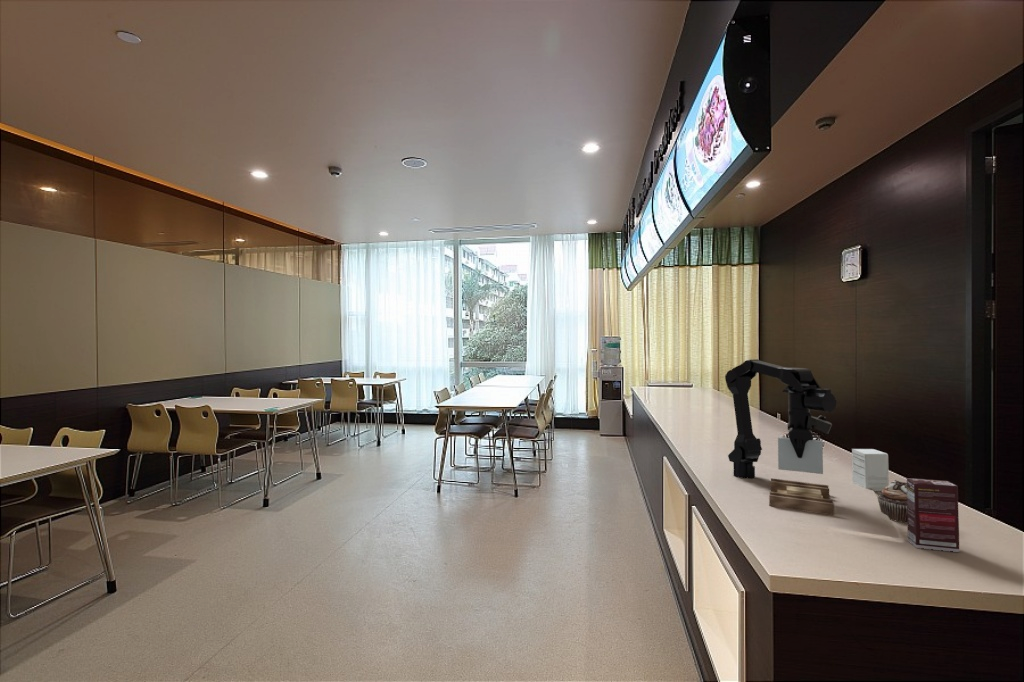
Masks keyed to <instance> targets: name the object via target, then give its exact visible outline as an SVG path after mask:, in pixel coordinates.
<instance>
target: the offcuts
mask: <svg viewBox="0 0 1024 682" xmlns="http://www.w3.org/2000/svg"><path fill="white" fill-rule="evenodd" d="M777 492H778V493H786V494H793V495H800V496H808V497H815V498H823V496H822V495H821V490H816V489H808V488H800V487H792V486H787V491H785V490H778V491H777Z"/></svg>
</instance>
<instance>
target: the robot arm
mask: <svg viewBox="0 0 1024 682" xmlns="http://www.w3.org/2000/svg"><path fill="white" fill-rule="evenodd" d="M757 374H761V375H765V376H768V377H771V378H775V379H777V380H779V381H780V382H781V383H782V384H784V385H786V387H785V388H784V389H783V390H782V393H783V394H784V393H785V394H788V422H787V431H788V433H787V434H788V438H789V439H790V441H791V443H792V445H793V448H794V450H795V452H796V454H797V457H798V458H802V456H803V452H804V447H805V443H806V442H807V441H809V440H814V433H813V431H812V430H813V429H815V430H817V431H820V432H822V433H823V434H827V435H829V433H830V431H831V428H832V426H833V424H832V422H831V421H827V417H826V416H823V415H819V416H818V417H817V416H813V415H812V413H811V411H816V412H817V411H819V412H824V413H825V412H826V413H831V412H833V411H834V410H835V409H836V407H837V400H836V397H835V395H834V394H833V393H832V389H831V388H821V386H820V384H819V383H818V381H817V380H816V378H815V377H814V376H813V373H812V370H810V368H808V367H807V368H806V367H805V368H804V367H785V366H782V365H778V364H774V363H770V362H766V361H763V360H760V359H758V358H757V359H754V358H753V359H752V358H751V359H746V360H744V361H743V363H740V364H739V365H737V366H735V367H733V368H731V369H729V370H728V371H727V372H726V373H725V376H724V378H725V385H726V387H727V389H728V391H729V392H730V393H731V394H732V399H733V407H734V415H735V423H736V430H737V435H736V437H735V438H734V439H735V440H734V442H733V444H734V445H733V446H734V448H733V450H731V451H730V453H729V454H727V458H728V460H729V461H728V462H731V463H733V477H736V478H741V479H756V466H755V465H754V463H758V462H759V457H760V456H761V454H762V451H763V448H762V445H761V443H762V442H761V438H757V437H756V436H755V434H754V432H753V425H752V417H751V409H750V402H749V401H750V400H749V392H750V389H751V387H752V380H753V379H754V378H755V377H756V376H757Z"/></svg>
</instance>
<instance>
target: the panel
mask: <svg viewBox="0 0 1024 682" xmlns="http://www.w3.org/2000/svg"><path fill="white" fill-rule="evenodd" d="M823 446H824V445H823V440H815V439H813V440H809V441H807V442H806V443H805V447H804V452H803V456H802V458H798V457H797V454H796V452H795V450H794V448H793V445H792V443H791V441H790V439H789V437H780V436H779V437H777V456H778V457H777V459H778V460H777V461H778V463H777V465H778V467H777V468H778V470H780V471H789V472H799V473H800V472H801V473H808V474H819V475H823V474H824V459H823V458H824V455H823V454H824V453H823V452H824V451H823V449H824V447H823Z"/></svg>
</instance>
